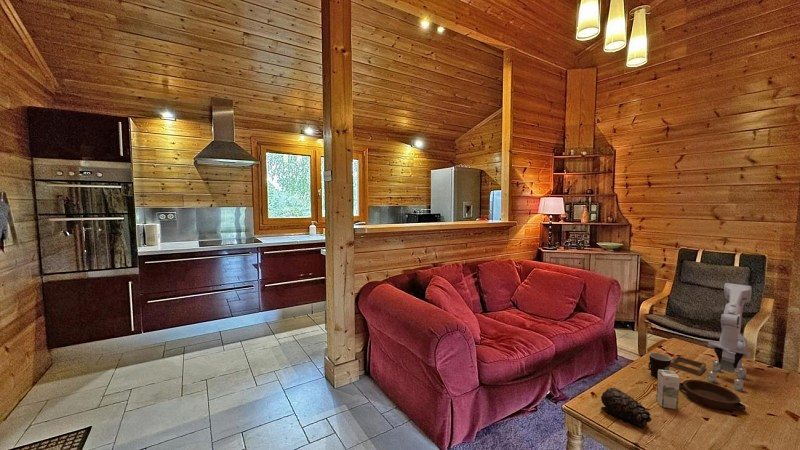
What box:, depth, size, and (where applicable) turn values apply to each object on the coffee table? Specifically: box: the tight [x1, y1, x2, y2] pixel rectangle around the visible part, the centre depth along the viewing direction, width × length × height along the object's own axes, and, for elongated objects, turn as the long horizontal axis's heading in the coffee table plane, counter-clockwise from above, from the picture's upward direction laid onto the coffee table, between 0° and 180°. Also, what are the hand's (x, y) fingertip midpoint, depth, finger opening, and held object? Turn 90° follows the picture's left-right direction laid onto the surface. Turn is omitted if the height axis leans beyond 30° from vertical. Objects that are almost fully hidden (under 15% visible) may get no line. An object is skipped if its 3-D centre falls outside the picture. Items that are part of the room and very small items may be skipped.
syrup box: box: [655, 369, 681, 411], centre depth 141 cm, size 6×6×14 cm
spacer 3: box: [736, 366, 748, 381], centre depth 162 cm, size 3×3×5 cm
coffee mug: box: [648, 352, 672, 379], centre depth 164 cm, size 12×9×10 cm
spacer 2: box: [712, 359, 722, 373], centre depth 169 cm, size 3×3×5 cm
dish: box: [679, 379, 747, 412], centre depth 144 cm, size 18×22×5 cm
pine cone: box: [600, 387, 652, 431], centre depth 133 cm, size 10×18×10 cm, turn 37°
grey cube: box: [720, 357, 735, 374], centre depth 160 cm, size 4×4×5 cm
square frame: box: [669, 355, 707, 376], centre depth 172 cm, size 12×12×2 cm
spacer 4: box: [733, 377, 745, 393], centre depth 152 cm, size 3×3×5 cm
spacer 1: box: [707, 369, 718, 384], centre depth 159 cm, size 3×3×5 cm
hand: (727, 365), depth 160 cm, fingers closed on grey cube, 4 cm apart
